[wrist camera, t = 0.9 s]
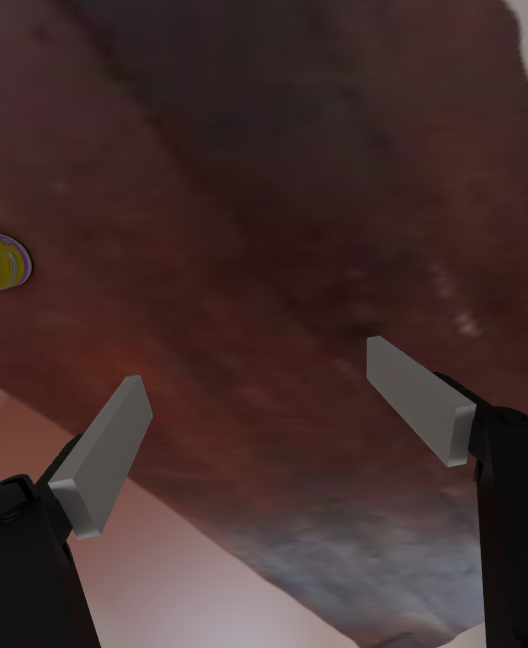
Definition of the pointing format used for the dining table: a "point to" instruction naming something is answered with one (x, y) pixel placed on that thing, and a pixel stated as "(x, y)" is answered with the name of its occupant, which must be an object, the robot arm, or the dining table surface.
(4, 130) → the dining table surface
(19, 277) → the supplement bottle
